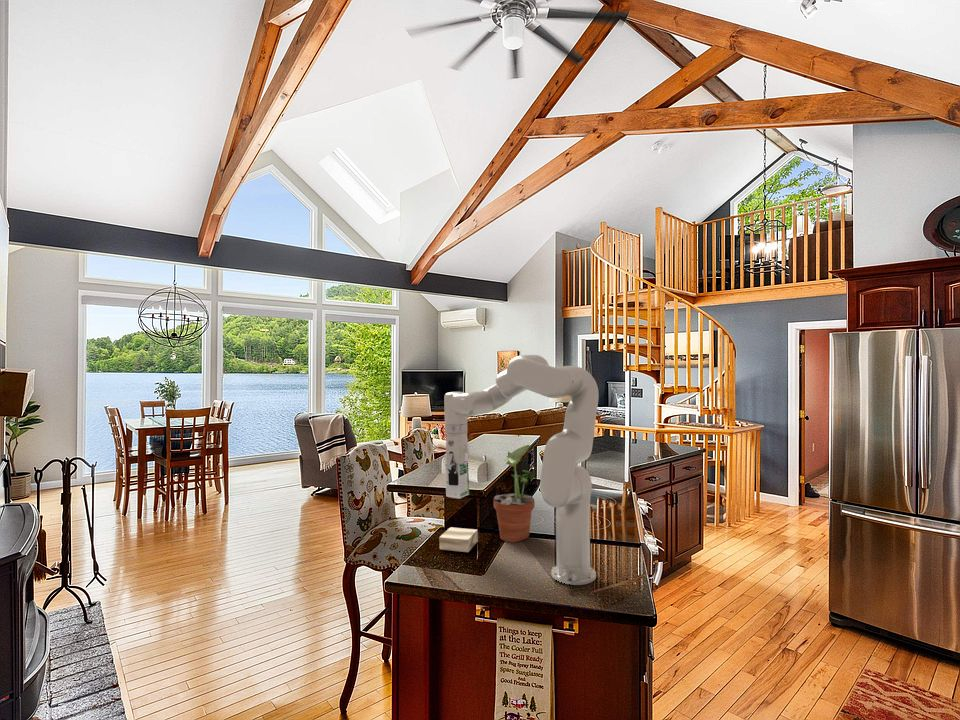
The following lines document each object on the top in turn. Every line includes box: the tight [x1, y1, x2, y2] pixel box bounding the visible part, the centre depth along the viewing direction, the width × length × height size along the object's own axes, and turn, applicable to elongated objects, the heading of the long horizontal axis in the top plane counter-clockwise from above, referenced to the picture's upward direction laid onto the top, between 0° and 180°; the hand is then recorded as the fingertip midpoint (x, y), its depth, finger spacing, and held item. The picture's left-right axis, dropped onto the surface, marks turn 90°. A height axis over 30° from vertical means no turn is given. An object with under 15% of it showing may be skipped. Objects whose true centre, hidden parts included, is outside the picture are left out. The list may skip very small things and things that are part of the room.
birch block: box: [438, 526, 479, 553], centre depth 175 cm, size 10×10×4 cm
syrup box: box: [444, 452, 470, 500], centre depth 174 cm, size 6×6×14 cm
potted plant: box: [493, 444, 535, 543], centre depth 182 cm, size 16×15×35 cm
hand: (457, 481), depth 174 cm, fingers closed on syrup box, 6 cm apart
